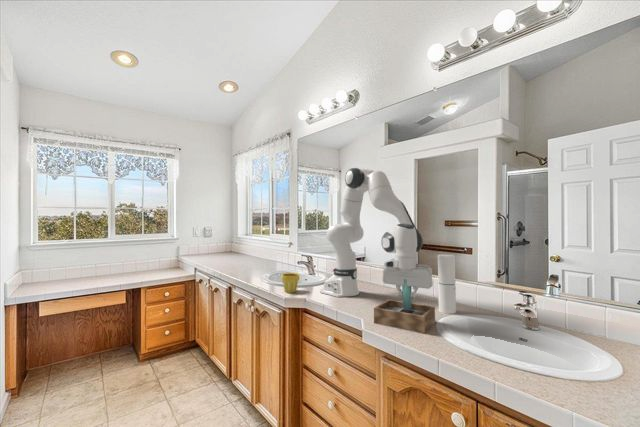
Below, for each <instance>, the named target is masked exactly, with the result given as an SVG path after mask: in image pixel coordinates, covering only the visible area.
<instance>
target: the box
mask: <svg viewBox="0 0 640 427" xmlns="http://www.w3.org/2000/svg"><path fill="white" fill-rule="evenodd" d="M435 322H436V306H434V305H433V306H432V305H426V304H421V303H415V302H412V309H404V308H403V300H394V299H387V300H385V301H383V302H381V303H380V304H378V305H376V306H375V307H373V323H374V324H377V325H382V326H387V327H393V328H398V329H400V330H401V329H402V330H407V331H411V332H416V333H420V334H425V333H426V332H427V331H428V330H429V329H430V328H431V327H432V326H433V325H434V323H435Z"/></svg>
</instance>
